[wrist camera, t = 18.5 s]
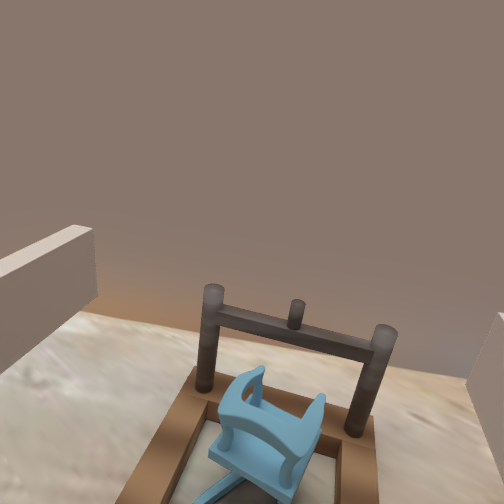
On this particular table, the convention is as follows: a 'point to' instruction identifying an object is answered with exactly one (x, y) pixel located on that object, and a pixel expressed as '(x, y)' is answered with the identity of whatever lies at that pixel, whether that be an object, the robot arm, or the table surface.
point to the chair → (262, 441)
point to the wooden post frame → (216, 384)
